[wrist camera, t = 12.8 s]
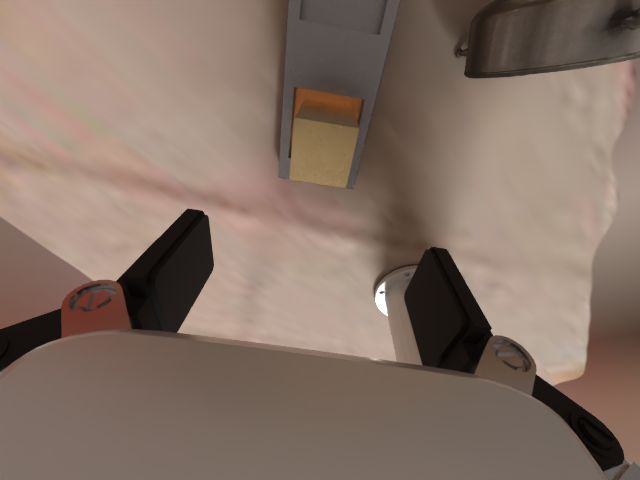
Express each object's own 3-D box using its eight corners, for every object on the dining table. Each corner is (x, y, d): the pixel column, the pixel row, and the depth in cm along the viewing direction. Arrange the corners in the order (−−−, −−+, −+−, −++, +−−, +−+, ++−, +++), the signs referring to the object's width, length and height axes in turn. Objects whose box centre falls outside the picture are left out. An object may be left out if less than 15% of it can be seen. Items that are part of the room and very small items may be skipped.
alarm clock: (441, 75, 26) (549, 103, 13) (448, 4, 23) (599, -54, 10) (561, 55, 25) (816, 62, 12) (586, -24, 22) (974, -134, 9)
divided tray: (425, -126, 19) (436, -146, 17) (352, 180, 33) (353, 189, 31) (302, -154, 18) (299, -179, 16) (281, 169, 33) (278, 177, 31)
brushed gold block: (352, 107, 27) (359, 128, 20) (342, 154, 30) (345, 188, 23) (304, 98, 27) (294, 117, 20) (300, 147, 30) (289, 179, 23)
